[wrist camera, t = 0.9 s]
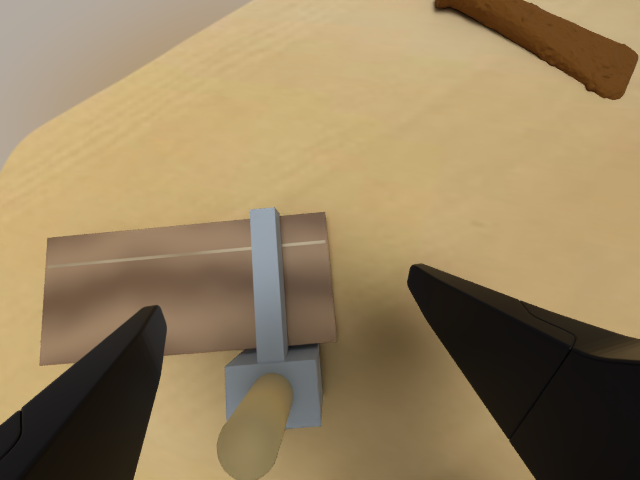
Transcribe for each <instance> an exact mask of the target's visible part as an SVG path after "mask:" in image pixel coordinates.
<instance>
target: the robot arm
mask: <svg viewBox="0 0 640 480" xmlns="http://www.w3.org/2000/svg"><path fill="white" fill-rule="evenodd" d="M407 285H408V288H409V290H410V292H411V293H412V295H413V297H414V299H415V301H416V302H417V304H418V306H419V308H420V310H421V312H422V313H423V315H424V317H425V318H426V320H427V322H428V323H429V325H430V326H431V328H432V329H433V331H434V332H435V333H436V335H437V336H438V338H439V339H440V341H441V342H442V344H443V345H444V347H445V348H446V349H447V351H448V352H449V354H450V355H451V357H452V358H453V360H454V361H455V362H456V364H457V365H458V367H459V368H460V370H461V371H462V373H463V374H464V376H465V377H466V378H467V380H468V381H469V383H470V384H471V386H472V387H473V389H474V390H475V392H476V393H477V394H478V396H479V397H480V399H481V400H482V402H483V403H484V405H485V406H486V408H487V409H488V410H489V412H490V413H491V415H492V416H493V418H494V419H495V421H496V422H497V424H498V425H499V426H500V428H501V429H502V431H503V432H504V434H505V435H506V437H507V438H508V439H510V440H509V441H510V443H511V444H512V446H513V447H514V448H515V450H516V451H517V453H518V454H519V456H520V457H521V459H522V460H523V462H524V463H525V465H526V466H527V467H528V469H529V470H530V472H531V473H532V475H533V476H534V478H535V479H536V480H640V339H637V338H632V337H628V336H624V335H621V334H618V333H615V332H612V331H608V330H605V329H602V328H599V327H596V326H593V325H590V324H587V323H584V322H581V321H578V320H575V319H572V318H569V317H566V316H563V315H560V314H557V313H554V312H551V311H548V310H545V309H543V308H540V307H537V306H534V305H532V304H529V303H526V302H524V301H519V300H518V299H515V298H513V297H510V296H507V295H505V294H502V293H499V292H497V291H494V290H491V289H489V288H486V287H483V286H481V285H478V284H475V283H473V282H470V281H467V280H465V279H462V278H459V277H457V276H454V275H451V274H449V273H446V272H443V271H441V270H438V269H435V268H433V267H430V266H427V265H425V264H414V265H412V266H411V267H410V271H409V276H408V280H407ZM166 334H167V324H166V321H165V318H164V315H163V313H162V310H161V307H160V306H159V305H151V306H145V307H143V308H141V309H140V310H139V311H138V312H136V313H135V314H134V315H133V316H132V317H130V318H129V319H128V320H127V321H126V322H124V323H123V324H122V325H121V326H120V327H118V328H117V329H116V330H115V331H114V332H112V333H111V334H110V335H109V336H108V337H106V338H105V339H104V340H103V341H102V342H100V343H99V344H98V345H97V346H95V347H94V348H93V349H92V350H91V351H89V352H88V353H87V354H86V355H85V356H83V357H82V358H81V359H80V360H79V361H77V362H76V363H75V364H74V365H73V366H71V367H70V368H69V369H68V370H67V371H65V372H64V373H63V374H62V375H61V376H59V377H58V378H57V379H56V380H54V381H53V382H52V383H51V384H50V385H48V386H47V387H46V388H45V389H44V390H42V391H41V392H40V393H39V394H38V395H36V396H35V397H34V398H33V399H32V400H30V401H29V402H28V403H27V404H26V405H24V406H23V407H22V409H21V410H19V411H17V412H16V413H15V414H13V415H12V416H11V417H10V418H9V419H7V420H6V421H5V422H4V423H2V424H1V425H0V480H133V479H134V475H135V472H136V468H137V464H138V460H139V456H140V453H141V449H142V445H143V441H144V438H145V434H146V430H147V426H148V423H149V419H150V415H151V411H152V407H153V404H154V400H155V396H156V392H157V389H158V385H159V381H160V376H161V370H162V363H163V356H164V349H165V341H166Z"/></svg>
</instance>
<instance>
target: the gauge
mask: <svg viewBox="0 0 640 480" xmlns="http://www.w3.org/2000/svg"><path fill="white" fill-rule="evenodd" d="M250 226H251V246H252V266H253V286H254V307H255V327H256V347H257V348H253V349H245V350H244V351H243V352H241V353H240V354H239V355H238V356H237V357H236V358H234V359H233V360H232V361H231V362H230V363H229V364H228V365H226V366H225V385H226V416H227V422H226V424H225V425H224V427H223V428H222V430H221V432H220V434H219V437H218V442H217V454H218V458H219V461H220V464H221V466H222V467H223V469H224V470H225V471H226V472H227V473H228V474H229V475H230V476H231V477H233V478H235V479H237V480H257V479H259V478H261V477H263V476H264V475H265V474H267V473H268V472H269V471H270V469H271V468H272V466H273V465H274V463H275V460H276V458H277V454H278V451H279V448H280V444H281V441H282V437H283V434H284V430H285V429H291V428H304V427H318V426H321V417H322V400H323V390H322V377H321V365H320V353H319V343H314V344H302V345H290V346H288V338H287V322H286V307H285V292H284V277H283V262H282V247H281V232H280V217H279V212H278V211H277V210H276V209H275V207H274V208H263V209H252V210H250Z"/></svg>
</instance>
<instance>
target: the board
mask: <svg viewBox="0 0 640 480" xmlns="http://www.w3.org/2000/svg"><path fill="white" fill-rule="evenodd" d="M279 217H280V232H281V247H282V262H283V277H284V292H285V307H286V322H287V338H288V346H290V345H302V344H314V343H327V342H337V337H336V326H335V315H334V304H333V293H332V282H331V271H330V260H329V250H328V239H327V228H326V217H325V212H319V213H308V214H298V215H287V216H279ZM151 305H159V306H160V307H161V310H162V313H163V315H164V318H165V321H166V324H167V334H166V341H165V349H164V356H166V355H179V354H191V353H203V352H216V351H228V350H240V349H253V348H257V347H256V327H255V307H254V286H253V266H252V246H251V226H250V219H244V220H234V221H223V222H212V223H202V224H191V225H180V226H170V227H159V228H148V229H138V230H127V231H116V232H106V233H95V234H84V235H74V236H63V237H52V238H47V252H46V268H45V284H44V300H43V316H42V332H41V348H40V364H39V366H43V365H55V364H68V363H76V362H77V361H79V360H80V359H81V358H82V357H83V356H85V355H86V354H87V353H88V352H89V351H91V350H92V349H93V348H94V347H95V346H97V345H98V344H99V343H100V342H102V341H103V340H104V339H105V338H106V337H108V336H109V335H110V334H111V333H112V332H114V331H115V330H116V329H117V328H118V327H120V326H121V325H122V324H123V323H124V322H126V321H127V320H128V319H129V318H130V317H132V316H133V315H134V314H135V313H136V312H138V311H139V310H140V309H141V308H143V307H145V306H151Z"/></svg>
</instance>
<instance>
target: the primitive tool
mask: <svg viewBox="0 0 640 480" xmlns="http://www.w3.org/2000/svg"><path fill="white" fill-rule="evenodd" d="M436 7H437V8H446V7H452V8H455V9H457V10H460V11H461V12H463V13H465V14H466V15H468V16H470V17H472V18H474V19H475V20H476V21H480V22H481V23H482V24H484V25H485V26H486V27H489V28H492V29H494V30H496V31H497V32H498V33H500V34H502V35H503V36H505V37H506V38H508V39H510V40H512V41H513V42H515V43H517V44H518V45H520V46H522V47H524V48H526V49H528V50H529V51H531V52H533V53H534V54H536V55H537V56H539V57H540V58H541V59H542V60H544V61H547V62H548V63H549V65H554V66H556V67H557V68H558V69H561V70H562V71H564V72H565V73H567V74H568V75H569V76H572V77H573V78H575V79H576V80H578V81H579V82H581V83H583V84H584V85H585V86H586V88H587V90H588V91H590V90H591V91H594V92H596V93H597V95H599V96H601V97H602V98H609V99H612V100H616V99H620V98H621V97H622V96H623V95H624V93H625V91H626V87H627V85H628V83H629V81H630V78H631V76H632V73H633V71H634V69H635V66H636V64H637V61H638V55H637V53H636V52H635V51H634V50H632V49H631V48H629V47H628V46H626V45H625V44H620V43H618V42H615V41H613V40H611V39H608V38H606V37H603V36H601V35H599V34H596V33H594V32H591V31H589V30H587V29H585V28H583V27H580V26H579V25H577V24H575V23H572V22H570V21H568V20H565V19H563V18H561V17H558V16H556V15H553V14H551V13H549V12H547V11H545V10H543V9H541V8H539V7H538V6H537V5H534V4H533V3H528V2H526V1H523V0H436Z"/></svg>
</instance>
